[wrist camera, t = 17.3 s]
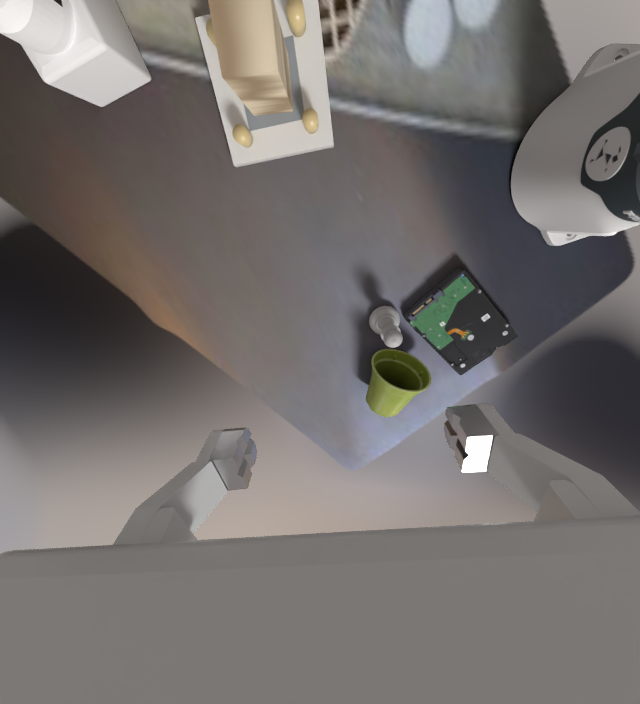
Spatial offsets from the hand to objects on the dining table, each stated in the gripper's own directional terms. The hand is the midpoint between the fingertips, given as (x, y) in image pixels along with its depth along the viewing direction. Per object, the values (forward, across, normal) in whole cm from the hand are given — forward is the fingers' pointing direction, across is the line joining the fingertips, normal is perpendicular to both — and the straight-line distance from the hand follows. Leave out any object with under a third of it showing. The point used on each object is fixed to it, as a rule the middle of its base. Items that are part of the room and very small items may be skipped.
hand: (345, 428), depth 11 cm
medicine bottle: (+31, +21, -26) cm, 46 cm away
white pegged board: (+31, +4, -20) cm, 37 cm away
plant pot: (+28, -6, +24) cm, 37 cm away
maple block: (+30, +4, -20) cm, 36 cm away
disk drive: (+32, -18, +11) cm, 38 cm away
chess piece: (+31, -7, +9) cm, 33 cm away
